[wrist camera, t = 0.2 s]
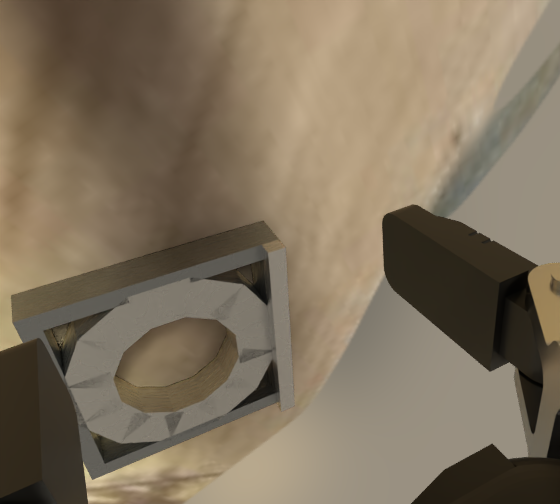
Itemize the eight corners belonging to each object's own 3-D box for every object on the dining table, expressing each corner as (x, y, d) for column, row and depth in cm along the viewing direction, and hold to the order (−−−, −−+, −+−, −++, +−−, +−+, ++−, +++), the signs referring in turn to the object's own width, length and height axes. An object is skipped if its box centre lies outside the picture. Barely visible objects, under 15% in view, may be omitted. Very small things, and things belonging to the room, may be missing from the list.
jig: (11, 295, 30) (13, 334, 27) (263, 220, 35) (285, 247, 32) (87, 451, 39) (94, 491, 37) (276, 375, 44) (294, 406, 42)
